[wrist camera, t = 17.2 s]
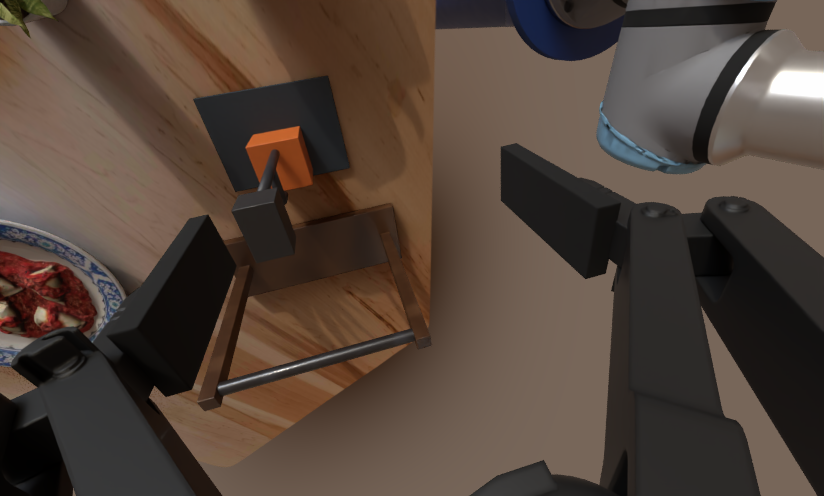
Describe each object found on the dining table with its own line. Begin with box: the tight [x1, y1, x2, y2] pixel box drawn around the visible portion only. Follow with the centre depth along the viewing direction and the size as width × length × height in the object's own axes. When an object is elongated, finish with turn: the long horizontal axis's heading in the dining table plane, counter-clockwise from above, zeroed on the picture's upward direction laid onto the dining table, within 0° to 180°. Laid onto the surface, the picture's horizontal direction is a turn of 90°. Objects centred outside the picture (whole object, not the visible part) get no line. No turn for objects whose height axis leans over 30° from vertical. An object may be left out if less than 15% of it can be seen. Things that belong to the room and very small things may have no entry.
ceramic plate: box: [0, 220, 127, 367], centre depth 46 cm, size 26×26×3 cm
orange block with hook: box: [232, 126, 313, 263], centre depth 36 cm, size 6×6×22 cm
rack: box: [197, 203, 431, 411], centre depth 45 cm, size 26×10×24 cm, turn 98°
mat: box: [193, 76, 350, 192], centre depth 44 cm, size 16×12×1 cm
